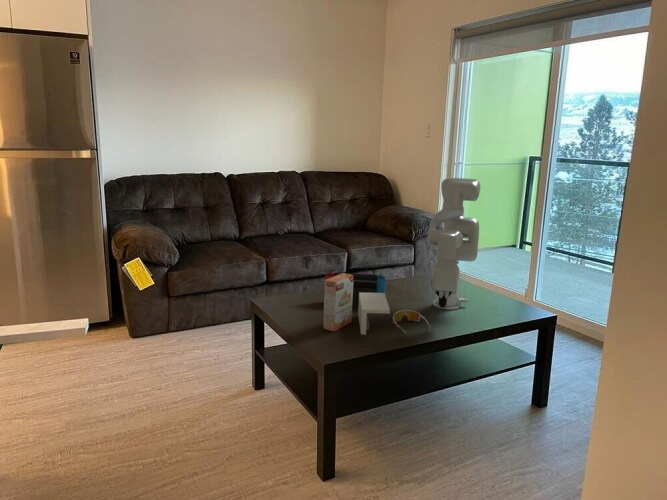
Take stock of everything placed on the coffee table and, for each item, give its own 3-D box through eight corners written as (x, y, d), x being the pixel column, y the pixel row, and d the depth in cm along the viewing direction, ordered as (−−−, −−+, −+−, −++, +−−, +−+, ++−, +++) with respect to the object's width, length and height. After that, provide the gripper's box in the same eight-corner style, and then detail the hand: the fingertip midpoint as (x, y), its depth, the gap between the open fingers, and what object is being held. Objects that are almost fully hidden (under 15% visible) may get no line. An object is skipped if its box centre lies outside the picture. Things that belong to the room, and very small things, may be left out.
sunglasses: (418, 318, 229) (419, 308, 227) (433, 336, 215) (434, 325, 213) (387, 321, 225) (388, 310, 223) (400, 339, 211) (402, 328, 210)
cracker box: (335, 332, 210) (336, 282, 206) (322, 329, 213) (323, 279, 209) (352, 322, 222) (354, 274, 217) (340, 319, 225) (341, 272, 220)
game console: (384, 303, 247) (386, 273, 244) (384, 308, 241) (385, 277, 238) (325, 300, 250) (326, 270, 247) (323, 304, 244) (324, 274, 241)
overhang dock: (383, 315, 230) (384, 293, 228) (388, 335, 209) (389, 309, 207) (358, 315, 230) (359, 292, 228) (360, 334, 209) (361, 309, 207)
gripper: (461, 261, 217) (458, 304, 221) (425, 260, 217) (422, 303, 221) (466, 265, 210) (462, 310, 214) (428, 264, 210) (425, 308, 213)
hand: (442, 306), depth 217 cm, fingers closed
